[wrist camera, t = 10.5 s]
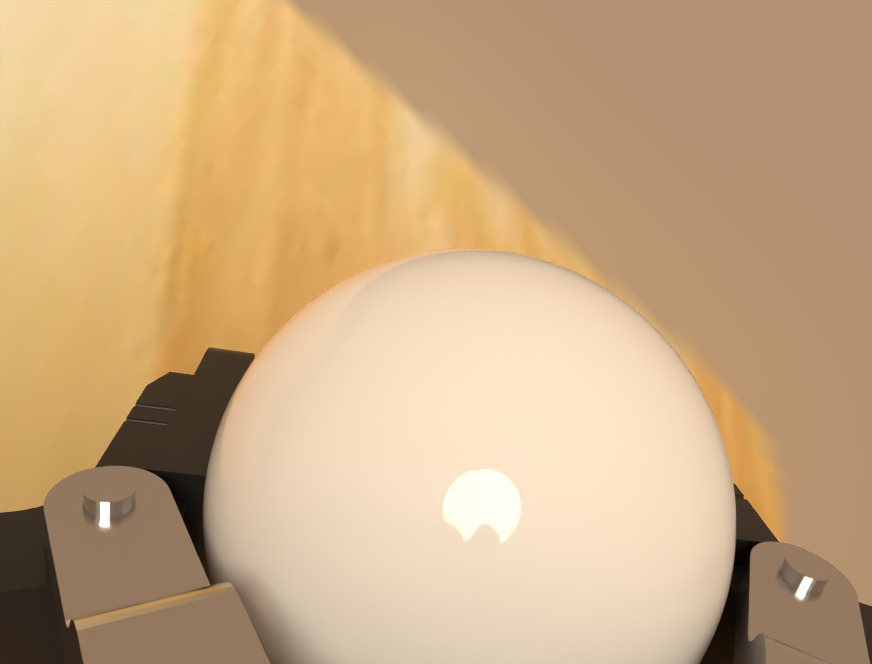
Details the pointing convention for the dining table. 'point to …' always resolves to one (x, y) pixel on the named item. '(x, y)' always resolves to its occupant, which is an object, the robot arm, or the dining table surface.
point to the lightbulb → (471, 475)
